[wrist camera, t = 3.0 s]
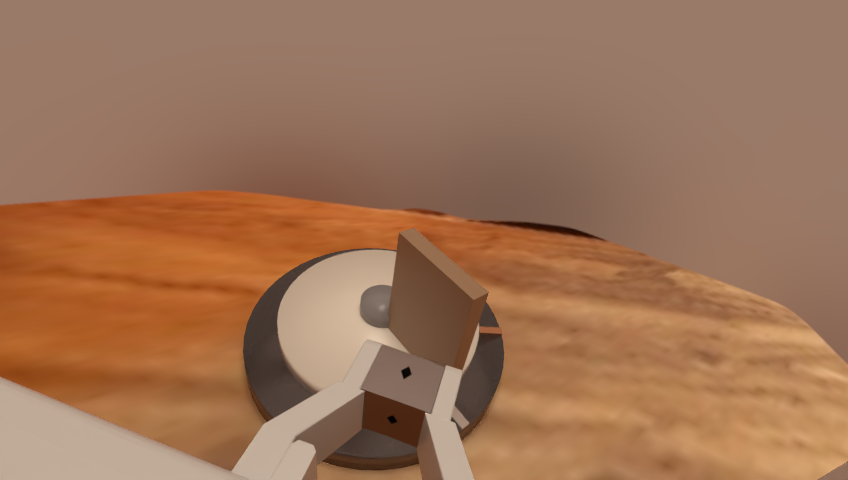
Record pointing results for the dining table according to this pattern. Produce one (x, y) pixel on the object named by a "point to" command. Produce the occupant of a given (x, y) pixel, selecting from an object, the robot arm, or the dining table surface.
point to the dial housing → (367, 447)
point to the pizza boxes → (837, 473)
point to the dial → (379, 310)
